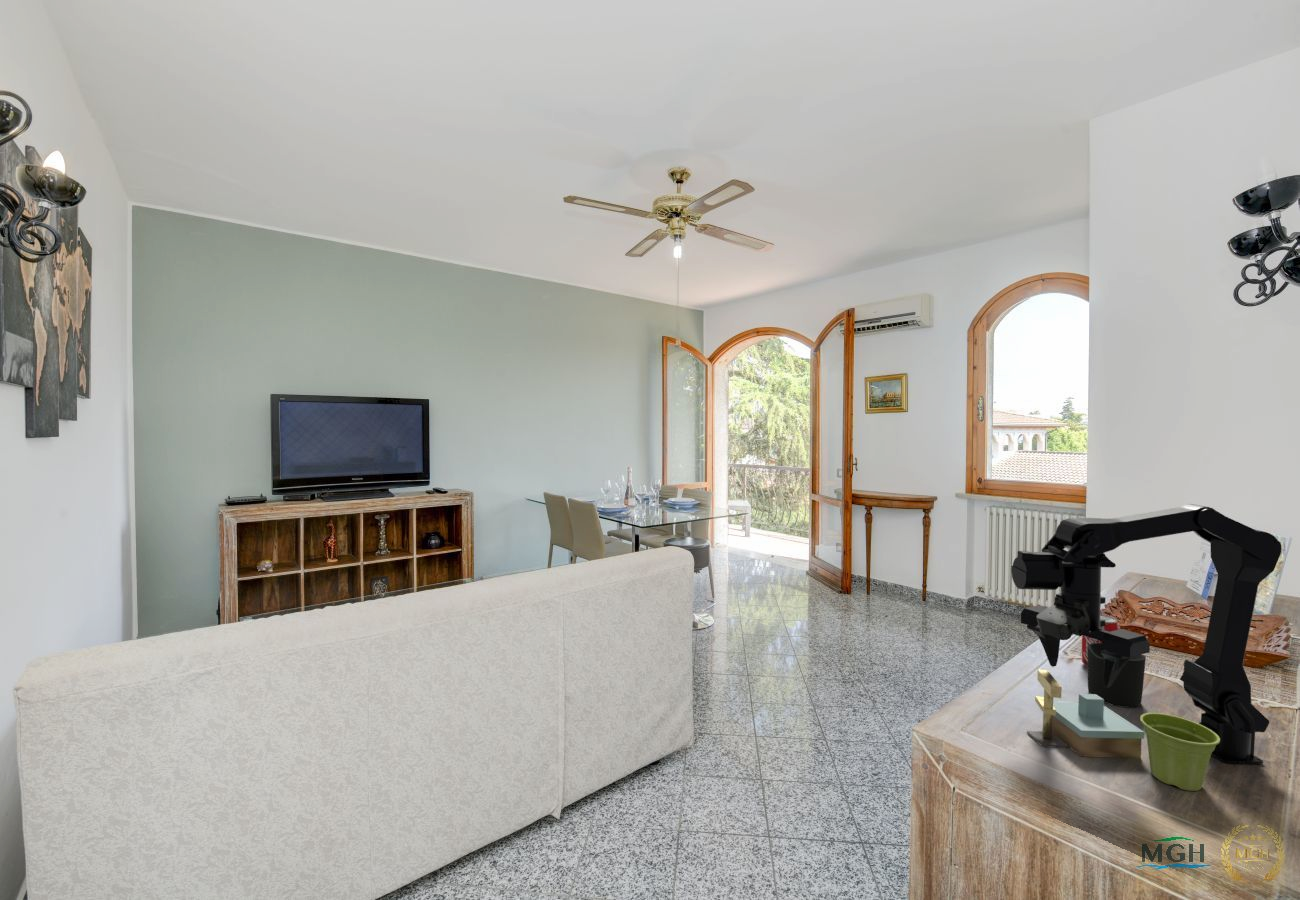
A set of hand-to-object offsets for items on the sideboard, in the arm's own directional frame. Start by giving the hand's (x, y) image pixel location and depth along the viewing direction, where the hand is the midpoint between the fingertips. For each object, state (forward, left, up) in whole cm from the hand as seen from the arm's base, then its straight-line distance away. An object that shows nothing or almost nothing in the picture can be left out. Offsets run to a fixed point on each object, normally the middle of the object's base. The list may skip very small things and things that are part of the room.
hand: (1079, 676), depth 103 cm
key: (+5, 0, -12) cm, 13 cm away
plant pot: (-8, +11, -12) cm, 18 cm away
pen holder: (-19, -17, -12) cm, 29 cm away
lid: (-2, 0, -9) cm, 9 cm away
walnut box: (0, 0, -12) cm, 12 cm away
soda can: (-27, -32, -12) cm, 44 cm away
